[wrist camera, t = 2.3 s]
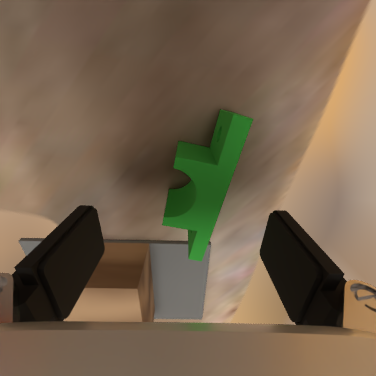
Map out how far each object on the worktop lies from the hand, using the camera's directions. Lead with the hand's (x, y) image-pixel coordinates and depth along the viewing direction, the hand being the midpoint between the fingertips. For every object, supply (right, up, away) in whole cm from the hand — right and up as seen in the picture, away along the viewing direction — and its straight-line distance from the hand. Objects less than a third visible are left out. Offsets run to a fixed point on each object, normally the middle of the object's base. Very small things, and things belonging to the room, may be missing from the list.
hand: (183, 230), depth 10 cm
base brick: (-7, -9, +12) cm, 16 cm away
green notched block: (+1, +4, +6) cm, 7 cm away
